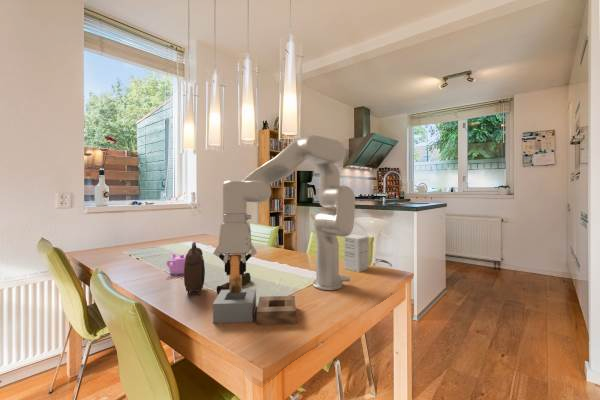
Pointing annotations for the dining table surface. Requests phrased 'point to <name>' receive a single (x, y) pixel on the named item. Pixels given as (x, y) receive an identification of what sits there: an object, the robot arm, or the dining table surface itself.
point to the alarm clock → (194, 269)
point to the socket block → (234, 306)
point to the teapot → (177, 264)
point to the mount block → (276, 310)
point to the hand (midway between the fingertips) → (235, 273)
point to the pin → (235, 273)
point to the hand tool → (245, 280)
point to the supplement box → (356, 252)
